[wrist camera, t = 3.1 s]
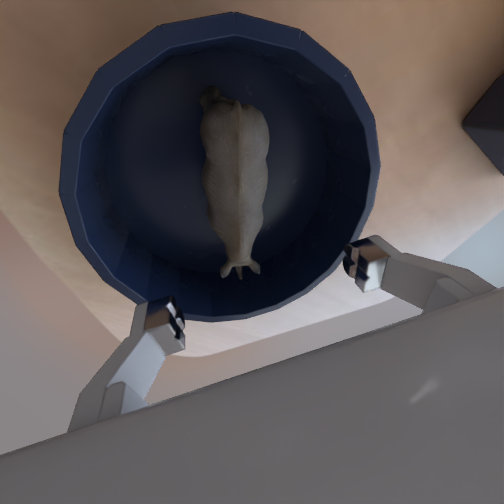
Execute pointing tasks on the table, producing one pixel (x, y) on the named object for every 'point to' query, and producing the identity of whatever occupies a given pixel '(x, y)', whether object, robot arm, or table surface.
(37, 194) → the table surface
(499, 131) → the calculator
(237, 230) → the rhino figurine
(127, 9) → the table surface
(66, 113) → the table surface
